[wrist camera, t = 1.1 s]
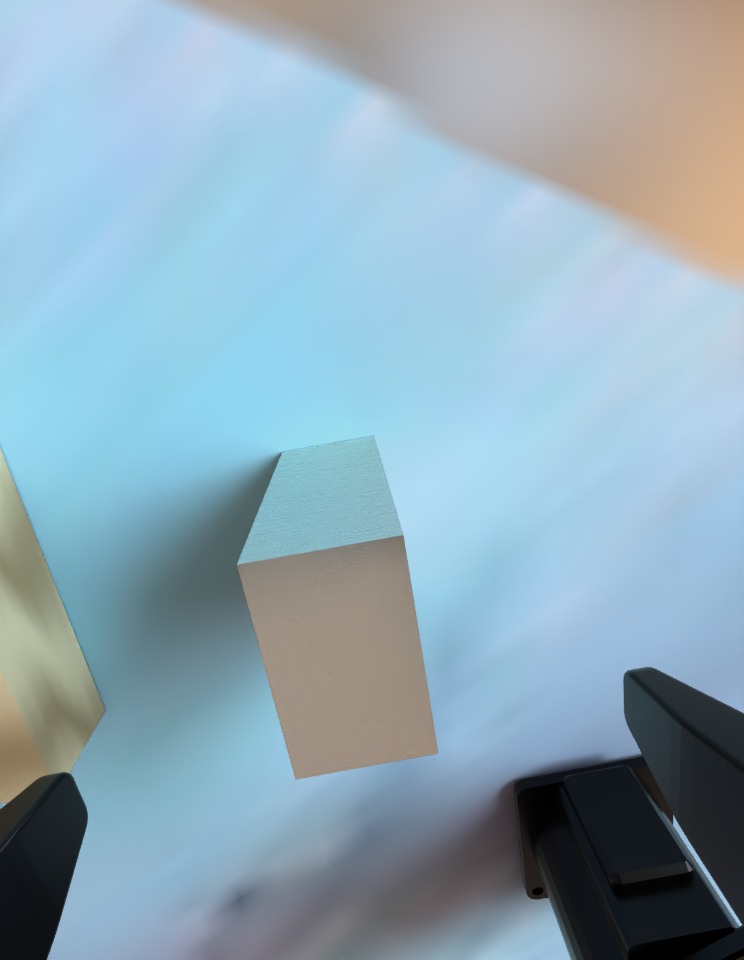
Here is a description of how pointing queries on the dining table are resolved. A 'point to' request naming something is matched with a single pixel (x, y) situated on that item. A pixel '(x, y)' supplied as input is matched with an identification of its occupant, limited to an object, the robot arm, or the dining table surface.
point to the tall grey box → (337, 612)
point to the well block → (36, 660)
